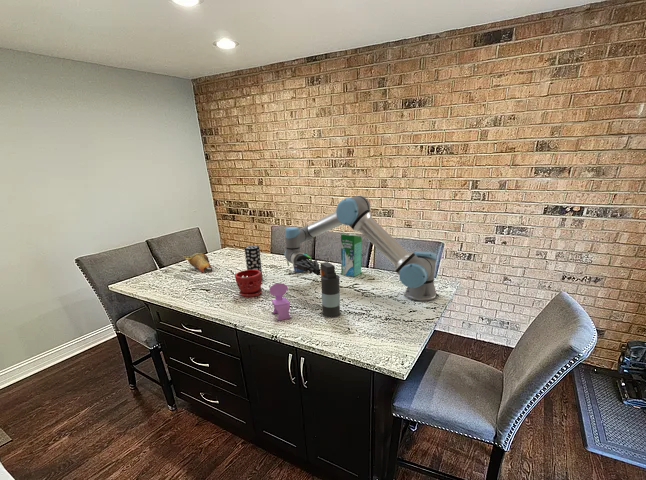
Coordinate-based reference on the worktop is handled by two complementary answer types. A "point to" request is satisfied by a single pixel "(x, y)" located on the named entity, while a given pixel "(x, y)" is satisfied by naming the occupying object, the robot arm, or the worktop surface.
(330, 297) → the spray bottle
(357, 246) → the milk carton
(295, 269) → the snack cup
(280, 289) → the toy chair
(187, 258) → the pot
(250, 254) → the white-spotted black cylinder
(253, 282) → the plant pot
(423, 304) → the worktop surface
